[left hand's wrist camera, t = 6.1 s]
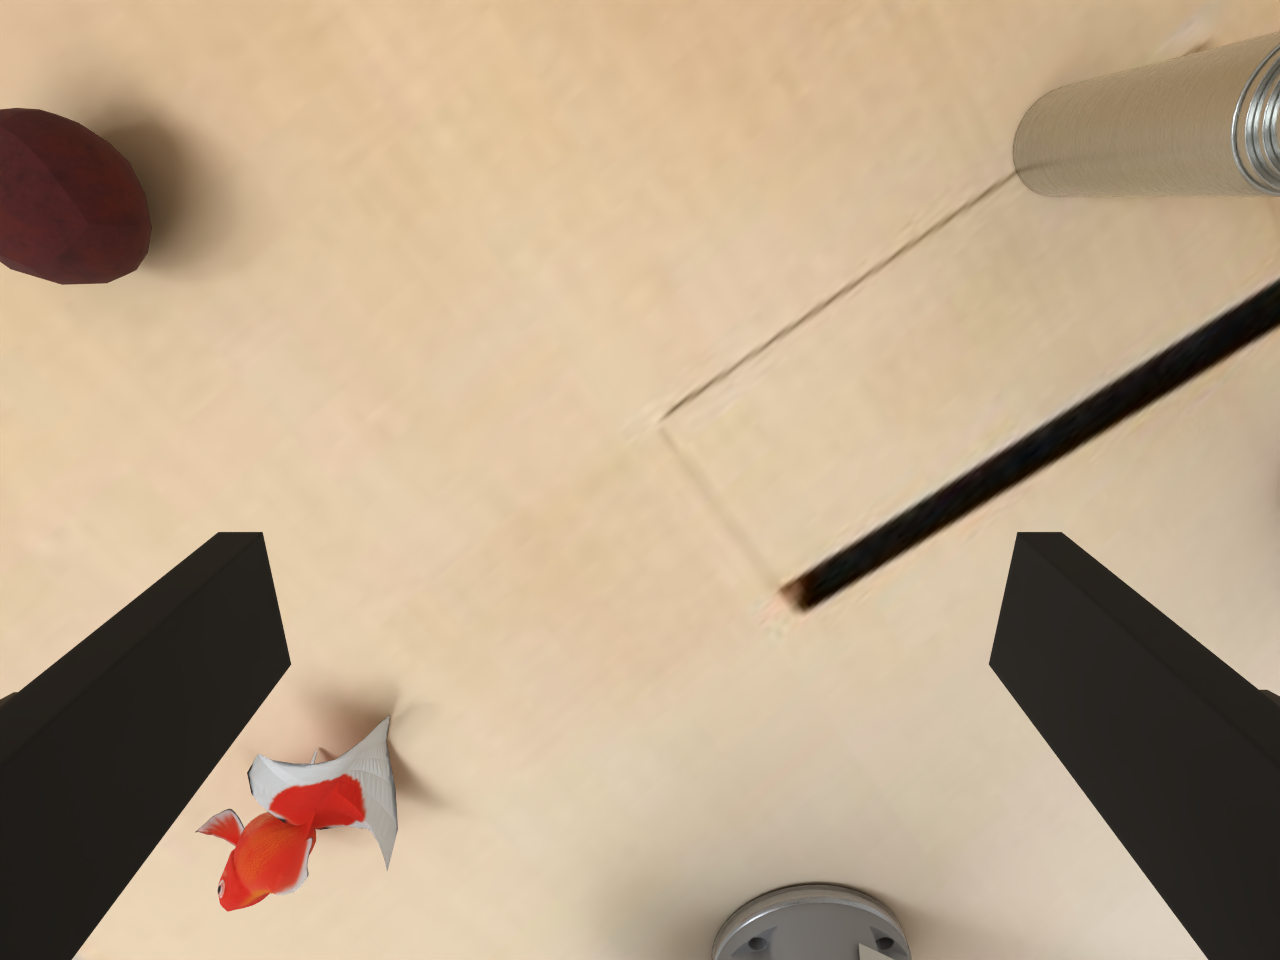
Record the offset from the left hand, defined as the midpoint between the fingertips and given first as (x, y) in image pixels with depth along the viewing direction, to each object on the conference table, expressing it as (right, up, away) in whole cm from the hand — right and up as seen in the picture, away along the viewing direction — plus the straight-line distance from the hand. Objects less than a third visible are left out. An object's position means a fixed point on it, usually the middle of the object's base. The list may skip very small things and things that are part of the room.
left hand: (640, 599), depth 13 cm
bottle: (+21, +19, +23) cm, 36 cm away
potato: (-27, +16, +24) cm, 39 cm away
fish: (-22, -18, +37) cm, 47 cm away
